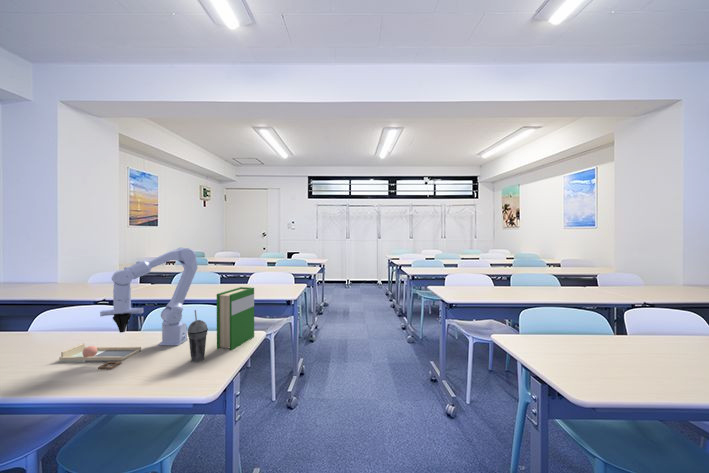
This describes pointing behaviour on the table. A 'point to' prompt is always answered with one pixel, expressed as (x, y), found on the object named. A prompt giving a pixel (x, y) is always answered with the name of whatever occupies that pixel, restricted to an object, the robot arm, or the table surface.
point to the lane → (98, 354)
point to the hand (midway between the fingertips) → (122, 331)
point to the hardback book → (235, 317)
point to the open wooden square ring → (105, 366)
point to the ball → (89, 351)
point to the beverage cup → (197, 339)
